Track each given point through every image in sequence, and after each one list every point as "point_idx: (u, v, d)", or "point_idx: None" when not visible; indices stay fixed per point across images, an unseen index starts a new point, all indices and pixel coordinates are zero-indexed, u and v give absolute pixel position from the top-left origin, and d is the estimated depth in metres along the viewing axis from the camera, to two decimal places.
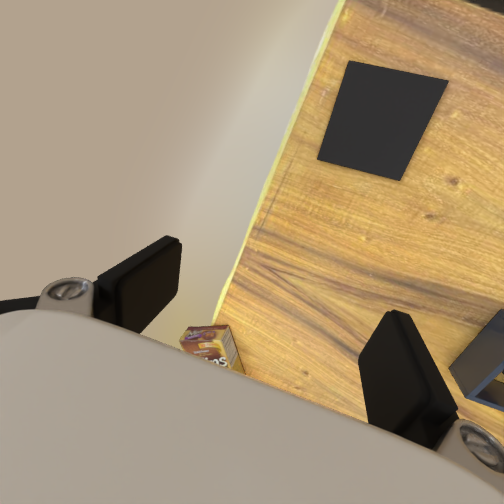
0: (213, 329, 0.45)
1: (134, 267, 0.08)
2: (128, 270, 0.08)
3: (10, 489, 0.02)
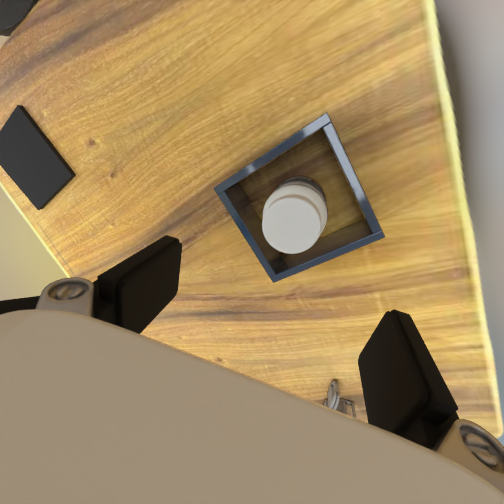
0: None
1: (134, 267, 0.08)
2: (128, 270, 0.08)
3: (10, 489, 0.02)
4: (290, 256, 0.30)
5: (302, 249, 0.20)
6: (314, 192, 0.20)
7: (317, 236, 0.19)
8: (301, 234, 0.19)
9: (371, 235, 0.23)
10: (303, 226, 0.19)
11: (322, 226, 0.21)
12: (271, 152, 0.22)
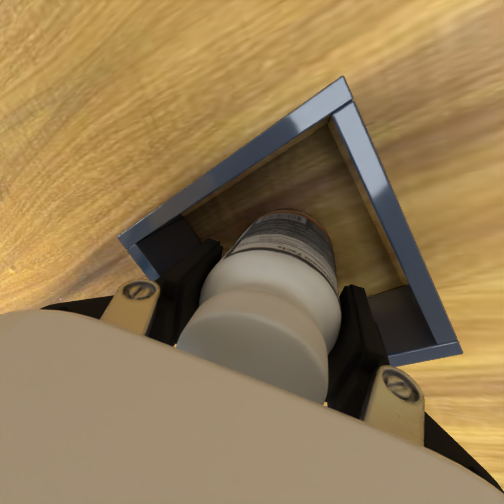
0: None
1: (191, 269, 0.09)
2: (187, 272, 0.09)
3: (10, 489, 0.02)
4: None
5: None
6: (310, 272, 0.08)
7: None
8: None
9: (433, 347, 0.11)
10: (279, 382, 0.07)
11: (329, 348, 0.09)
12: (217, 171, 0.10)
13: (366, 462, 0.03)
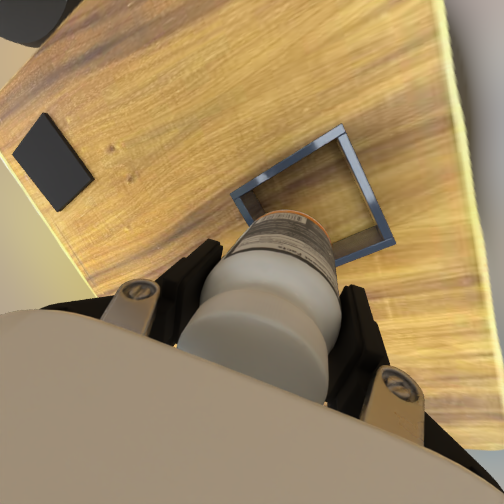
0: None
1: (191, 269, 0.09)
2: (187, 272, 0.09)
3: (10, 489, 0.02)
4: None
5: None
6: (311, 272, 0.08)
7: None
8: None
9: (383, 242, 0.23)
10: (279, 381, 0.07)
11: (329, 348, 0.09)
12: (286, 160, 0.23)
13: (366, 462, 0.03)
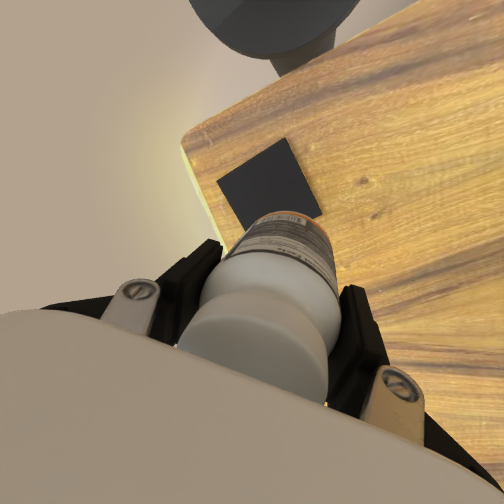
0: None
1: (191, 269, 0.09)
2: (187, 272, 0.09)
3: (10, 489, 0.02)
4: None
5: None
6: (310, 274, 0.08)
7: None
8: None
9: None
10: (279, 384, 0.07)
11: (329, 350, 0.09)
12: None
13: (366, 462, 0.03)
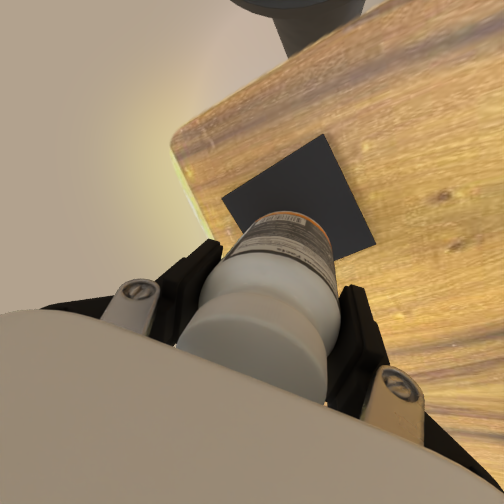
0: None
1: (191, 269, 0.09)
2: (187, 272, 0.09)
3: (10, 489, 0.02)
4: None
5: None
6: (310, 275, 0.08)
7: None
8: None
9: None
10: (278, 385, 0.07)
11: (328, 350, 0.09)
12: None
13: (366, 462, 0.03)
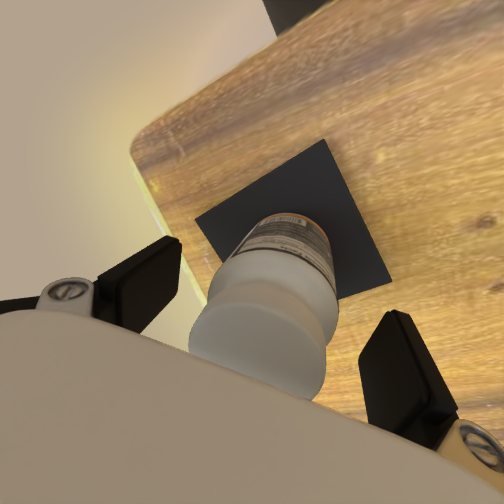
0: None
1: (134, 267, 0.08)
2: (128, 270, 0.08)
3: (10, 489, 0.02)
4: None
5: None
6: (310, 270, 0.09)
7: (316, 391, 0.08)
8: (278, 380, 0.08)
9: None
10: (282, 367, 0.08)
11: (327, 339, 0.10)
12: None
13: (366, 462, 0.03)
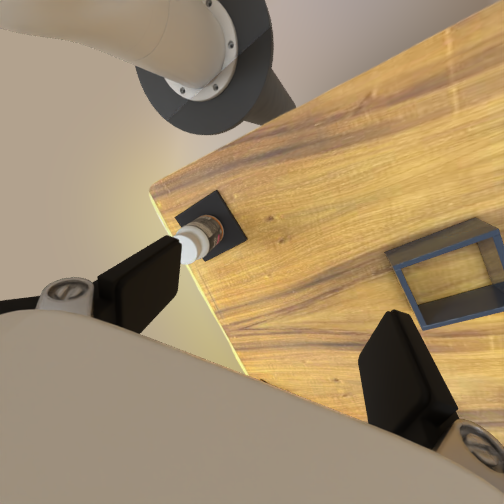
0: None
1: (134, 267, 0.08)
2: (128, 270, 0.08)
3: (10, 489, 0.02)
4: (427, 308, 0.39)
5: (190, 262, 0.36)
6: (199, 230, 0.37)
7: (196, 255, 0.35)
8: (188, 254, 0.35)
9: None
10: (188, 250, 0.35)
11: (205, 249, 0.37)
12: (448, 248, 0.32)
13: (366, 462, 0.03)
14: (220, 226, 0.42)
